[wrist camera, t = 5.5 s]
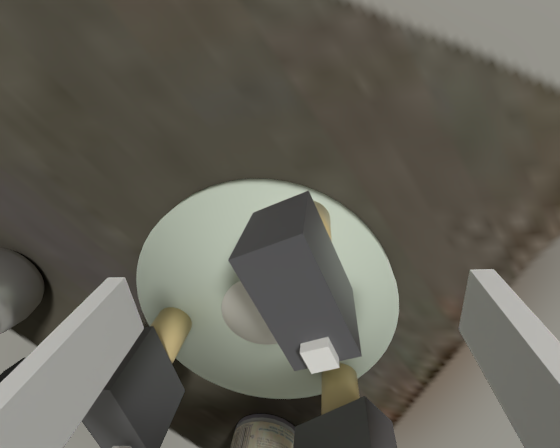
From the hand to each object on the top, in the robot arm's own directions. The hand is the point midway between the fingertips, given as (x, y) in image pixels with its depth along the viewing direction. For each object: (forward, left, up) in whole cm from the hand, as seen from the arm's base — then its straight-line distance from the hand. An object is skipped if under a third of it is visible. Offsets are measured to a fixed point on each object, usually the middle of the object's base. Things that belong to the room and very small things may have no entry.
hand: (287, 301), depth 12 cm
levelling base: (+1, -8, -10) cm, 13 cm away
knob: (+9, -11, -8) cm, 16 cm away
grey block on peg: (0, 0, -8) cm, 8 cm away
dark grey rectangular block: (-5, -13, -8) cm, 16 cm away
